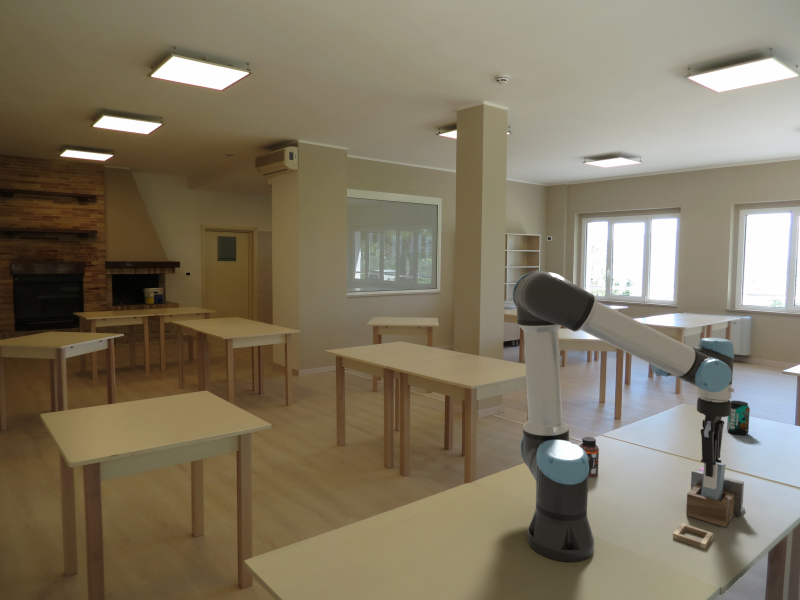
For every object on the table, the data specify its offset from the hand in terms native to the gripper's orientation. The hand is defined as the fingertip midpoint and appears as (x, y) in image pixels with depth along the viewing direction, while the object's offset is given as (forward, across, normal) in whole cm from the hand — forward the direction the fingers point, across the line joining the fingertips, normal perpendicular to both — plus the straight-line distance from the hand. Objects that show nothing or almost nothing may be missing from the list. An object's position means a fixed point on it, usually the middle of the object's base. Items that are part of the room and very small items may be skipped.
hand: (709, 486), depth 136 cm
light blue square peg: (+7, +2, 0) cm, 7 cm away
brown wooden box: (+8, +2, 0) cm, 9 cm away
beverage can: (+9, +84, +10) cm, 85 cm away
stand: (+8, -14, 0) cm, 16 cm away
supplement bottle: (+9, +6, +35) cm, 37 cm away
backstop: (+8, +9, 0) cm, 12 cm away
